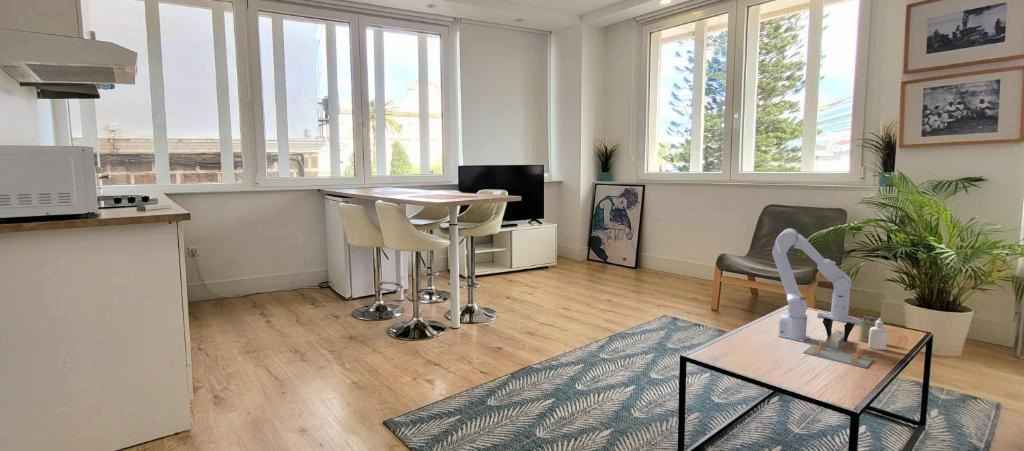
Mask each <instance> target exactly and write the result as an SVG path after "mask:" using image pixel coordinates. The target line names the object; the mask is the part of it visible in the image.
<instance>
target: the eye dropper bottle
mask: <svg viewBox="0 0 1024 451" xmlns="http://www.w3.org/2000/svg"><path fill="white" fill-rule="evenodd" d="M888 336H889V335H888V330H887V329H886V328H884V322H883V321H882V318H881V317H878V321H876V323H875V327H871V328H870V331H869V341H868V342H867V347H868V348H869V349H870V350H871V349H872V350H876V351H886V350H887V345H888V344H887V343H888Z"/></svg>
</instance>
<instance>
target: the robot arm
mask: <svg viewBox="0 0 1024 451" xmlns="http://www.w3.org/2000/svg"><path fill="white" fill-rule="evenodd" d="M792 247H793V249H798V250H801V251H802V252H804V253H805V254H806V255H807V256H808V257H809V258H810V259H811V260H812V261H813V262H814V263H816V266H817V267H816V268H817V270H818V272H820V273H821V274H822V276H824V278H826V279H827V280H828V282H832V286H833V292H832V296H831V309H830V313H825V312H818V313H817V319H823V320H822V324H823V326H824V328H825V330H826V336H827V338H828V337H829V336H830V335H831V334H832V328H833V324H834V322H839V323H843V324H844V329H843V330H844V331H845V332H844V342H846V341H847V339H848V340H849V336H850V333H851V331H852V330H853V328H854V327H855V326H857V327H860V326H861V322H862V320H863V319H857V318H853V317H849V312H850V311H849V310H850V299H851V298H850V297H851V295H850V294H851V293H850V292H851V288H852V279H851V277H849V275H848V274H846V272H845V271H844V270H843V271H842V270H841V269H840V268H839V267H838V266H837V265H836V263H837V262H835V261H834V260H833V261H832V260H831V259H829V258H824V257H823V256H822V255H821V253H819V251H817V249H816V248H815V247H814V246H813V245H812V244H811V243H810V242H809V241H808V240H807V239H806V238H805V237H804V236H803V235H802V234H801V233H799V232H798V231H797V230H796V229H794V228H791V227H789V228H786V229H784V230H783V231H782V232H780V234H778V236H777V237H776V239H775V242H774V246H773V247H772V252H771V254H772V257H773V261H774V263H775V265H776V268H777V272H778V274H779V277H780V280H781V283H782V285H783V288H784V291H785V295H786V302H787V303H788V306H787V313H782V314H781V315H780V318H779V323H778V324H779V326H778V327H779V328H778V335H777V337H780V338H784V339H788V340H789V339H790V340H794V341H798V342H805V341H806V340H807V339H809V338H810V336H809V335H807V327H808V326H807V325H808V315H807V314H806V312H807V309H808V307H809V305H808V302H807V300H805V299H804V298H803V296H802V293H801V292H800V290H799V287H798V285H797V281H796V279H795V275H794V272H793V269H792V267H791V264H790V261H789V258H788V256H787V252H789V250H790V248H792ZM847 342H848V341H847ZM847 342H846V343H847Z"/></svg>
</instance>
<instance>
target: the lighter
mask: <svg viewBox="0 0 1024 451" xmlns="http://www.w3.org/2000/svg"><path fill="white" fill-rule="evenodd" d="M867 319H869V320H867ZM878 319H879V317H878V318H877V317H874V316H867V315H863V319H861V320H862V322H861V326H859V333H858V340H859V341H861V342H865V343H868V341H869V331H870V328H871V327H875V323H876V321H878Z"/></svg>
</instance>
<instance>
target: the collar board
mask: <svg viewBox="0 0 1024 451" xmlns="http://www.w3.org/2000/svg"><path fill="white" fill-rule="evenodd" d="M802 353H803V354H804V355H809V356H813V357H818V358H821V359H825V360H830V361H834V362H838V363H842V364H846V365H851V366H854V367H857V368H858V367H859V368H862V369H867V368H868V367H869V366H870V365H871V364H872V363H873V362H874V359H872V358H868V357H864V350H863V349H860V348H856V349H855V353H853V352H852V353H847V352H841V351H839V350H838V351H835V350H831V349H826V341H823V340H819V342H818V345H817V344H814V345H810V346H809V347H807V348H806V349H805V350H804V351H803V352H802Z"/></svg>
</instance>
